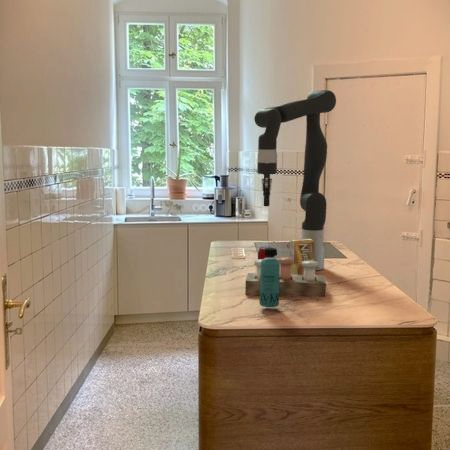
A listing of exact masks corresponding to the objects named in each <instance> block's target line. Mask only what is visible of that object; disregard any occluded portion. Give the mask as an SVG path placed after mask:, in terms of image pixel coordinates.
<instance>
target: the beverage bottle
mask: <svg viewBox="0 0 450 450" xmlns="http://www.w3.org/2000/svg"><path fill="white" fill-rule="evenodd" d="M264 255H266V256H275V258H264V259H263V260H262V261H261V273H260V289H259V290H260V295H259V298H258V299H259V301H258V303H259V306H261V307H263V308H278V307H279V305H280V296H279V290H280V289H279V286H280V262H279V261H278V258H276V256H277V255H278V249H277V248H275V247H273V248H265V251H264Z"/></svg>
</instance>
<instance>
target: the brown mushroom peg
mask: <svg viewBox="0 0 450 450" xmlns="http://www.w3.org/2000/svg"><path fill="white" fill-rule="evenodd" d="M277 260H278V261H279V262H280V280H291V264H293V263H294V259H293V258H290V256H289V257H287V256H285V257H282V256H281V257H277Z"/></svg>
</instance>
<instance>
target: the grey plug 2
mask: <svg viewBox="0 0 450 450" xmlns="http://www.w3.org/2000/svg"><path fill="white" fill-rule="evenodd" d="M317 266H318V262H316V261H302V267H304V280H313V281H315V275H316V270H315V268H316V267H317Z"/></svg>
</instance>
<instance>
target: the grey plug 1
mask: <svg viewBox="0 0 450 450" xmlns="http://www.w3.org/2000/svg"><path fill="white" fill-rule="evenodd" d="M262 260H263V259H259V260H258V259H255V260H254V261H253V262H254V264H253V265H254V266H255V267H256V272H255V273H256V279H260V273H261V261H262Z"/></svg>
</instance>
